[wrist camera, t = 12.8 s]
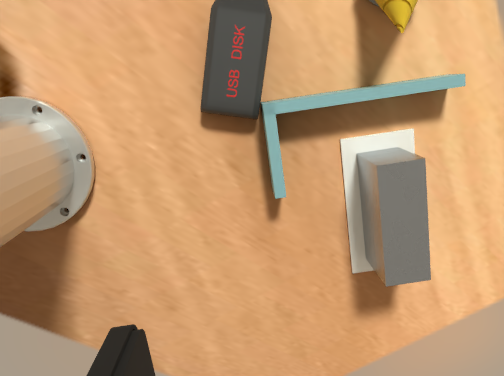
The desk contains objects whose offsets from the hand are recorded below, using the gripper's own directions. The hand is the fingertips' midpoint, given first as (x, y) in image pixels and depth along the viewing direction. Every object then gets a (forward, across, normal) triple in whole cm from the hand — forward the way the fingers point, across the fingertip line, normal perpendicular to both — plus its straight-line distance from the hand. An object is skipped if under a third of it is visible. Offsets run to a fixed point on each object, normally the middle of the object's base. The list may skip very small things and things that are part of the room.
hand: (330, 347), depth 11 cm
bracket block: (+30, -11, +7) cm, 33 cm away
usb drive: (+31, +1, -10) cm, 32 cm away
